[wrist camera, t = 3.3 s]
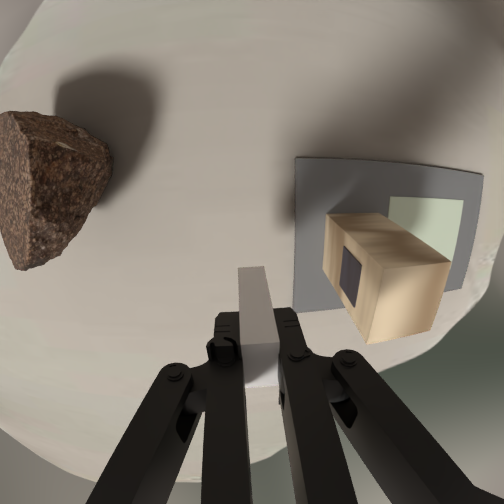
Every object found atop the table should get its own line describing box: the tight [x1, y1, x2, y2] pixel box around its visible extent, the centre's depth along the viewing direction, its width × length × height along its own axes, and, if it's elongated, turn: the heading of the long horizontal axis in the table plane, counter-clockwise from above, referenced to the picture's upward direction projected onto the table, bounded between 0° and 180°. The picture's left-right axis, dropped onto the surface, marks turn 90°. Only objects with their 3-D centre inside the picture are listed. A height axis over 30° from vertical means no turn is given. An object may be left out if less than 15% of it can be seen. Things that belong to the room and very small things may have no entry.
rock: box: [0, 111, 113, 271], centre depth 14 cm, size 12×10×10 cm
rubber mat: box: [293, 158, 484, 313], centre depth 23 cm, size 22×14×1 cm, turn 92°
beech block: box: [322, 213, 452, 345], centre depth 18 cm, size 5×5×10 cm
